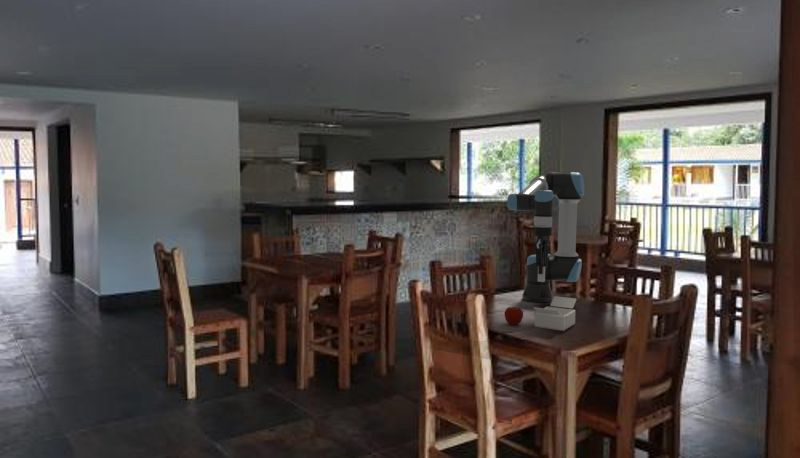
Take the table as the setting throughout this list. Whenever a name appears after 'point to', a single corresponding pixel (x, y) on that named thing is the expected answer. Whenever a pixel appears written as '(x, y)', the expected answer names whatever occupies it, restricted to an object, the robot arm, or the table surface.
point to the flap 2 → (563, 302)
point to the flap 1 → (547, 311)
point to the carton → (555, 319)
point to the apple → (513, 315)
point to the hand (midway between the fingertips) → (541, 281)
